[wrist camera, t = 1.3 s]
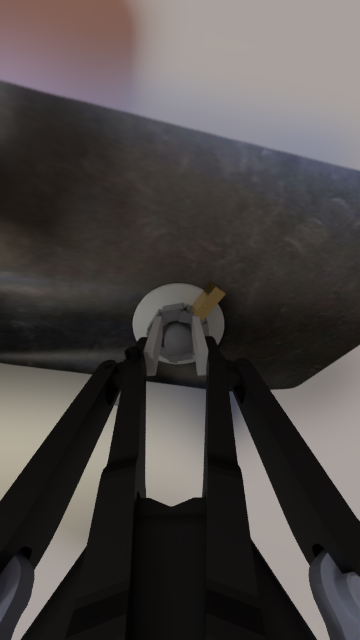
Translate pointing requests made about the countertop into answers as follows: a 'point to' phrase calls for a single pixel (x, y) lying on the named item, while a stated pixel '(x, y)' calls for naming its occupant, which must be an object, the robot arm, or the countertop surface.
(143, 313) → the housing
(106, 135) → the countertop surface
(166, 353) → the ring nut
